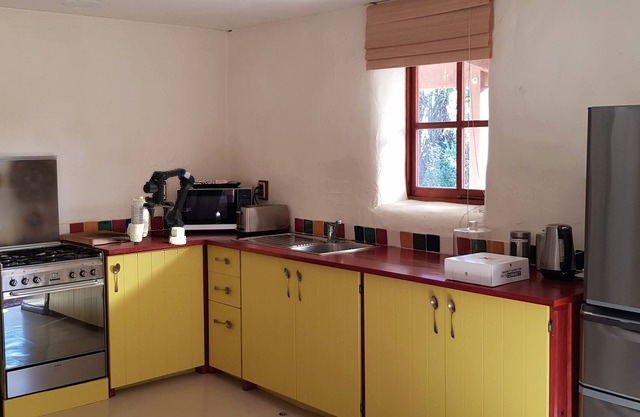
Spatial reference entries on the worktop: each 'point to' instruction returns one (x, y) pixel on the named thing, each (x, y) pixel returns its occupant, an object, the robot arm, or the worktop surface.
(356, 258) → the worktop surface
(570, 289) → the worktop surface
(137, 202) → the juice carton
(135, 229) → the mug
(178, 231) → the white cube
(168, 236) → the robot arm
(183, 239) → the cream tin
